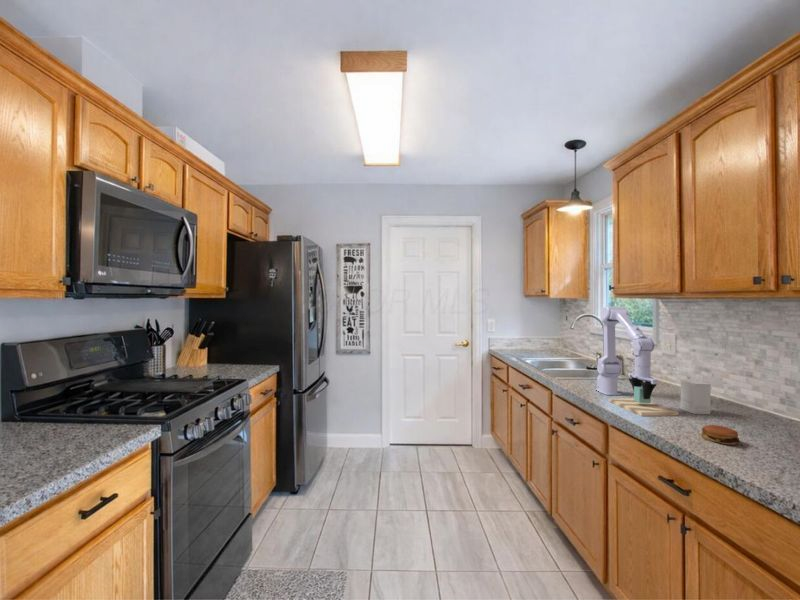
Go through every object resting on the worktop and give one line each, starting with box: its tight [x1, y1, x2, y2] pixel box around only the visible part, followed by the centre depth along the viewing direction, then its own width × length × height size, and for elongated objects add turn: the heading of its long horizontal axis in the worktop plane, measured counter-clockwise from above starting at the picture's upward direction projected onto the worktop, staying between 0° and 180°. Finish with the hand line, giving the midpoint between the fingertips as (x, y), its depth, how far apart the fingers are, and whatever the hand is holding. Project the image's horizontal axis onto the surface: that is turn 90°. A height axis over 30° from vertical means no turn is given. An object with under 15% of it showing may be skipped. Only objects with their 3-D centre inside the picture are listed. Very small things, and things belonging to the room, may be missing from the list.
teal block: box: [633, 386, 652, 403], centre depth 158 cm, size 4×4×6 cm
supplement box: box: [679, 379, 712, 415], centre depth 155 cm, size 7×7×13 cm
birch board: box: [608, 397, 679, 417], centre depth 158 cm, size 20×16×2 cm
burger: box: [700, 424, 741, 446], centre depth 123 cm, size 10×9×5 cm
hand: (642, 397), depth 158 cm, fingers closed on teal block, 5 cm apart
